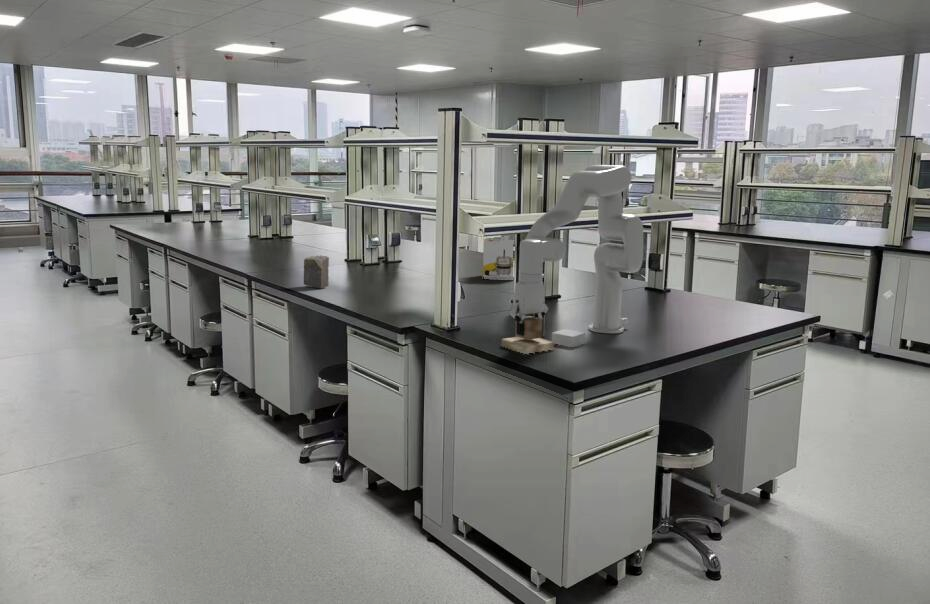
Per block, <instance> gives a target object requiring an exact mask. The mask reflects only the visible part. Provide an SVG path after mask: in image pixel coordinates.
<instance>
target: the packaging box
mask: <svg viewBox="0 0 930 604" xmlns="http://www.w3.org/2000/svg"><path fill="white" fill-rule="evenodd" d="M513 244H514V236H504V237H494V238H486V239H484V238H483V248H482V249H483V251H482V252H483V253H482V255H483V256H482V261H483V262H482V278H483V277H513Z"/></svg>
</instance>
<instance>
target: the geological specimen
mask: <svg viewBox="0 0 930 604" xmlns="http://www.w3.org/2000/svg"><path fill="white" fill-rule="evenodd" d="M329 261H330V258H329V256H324V255H312V256H308V257H305V258H304V259H303V285H305V286H309V287H312V288H315V289H325V288H327V287H328V286H329V278H330V277H329V265H330V264H329Z"/></svg>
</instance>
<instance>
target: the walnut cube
mask: <svg viewBox="0 0 930 604" xmlns="http://www.w3.org/2000/svg"><path fill="white" fill-rule="evenodd" d="M520 318H521V316H520ZM523 323H524V336H521V335H518V334H517V331H516V330H517V322H515V329H514V330H515V332H514V334H515V335H514V337H520V338H523V339H526V340H529V339H536V338H543V337H542V319H539V318H536V317H532V316H526V317H525V318H524V321H523Z"/></svg>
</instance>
